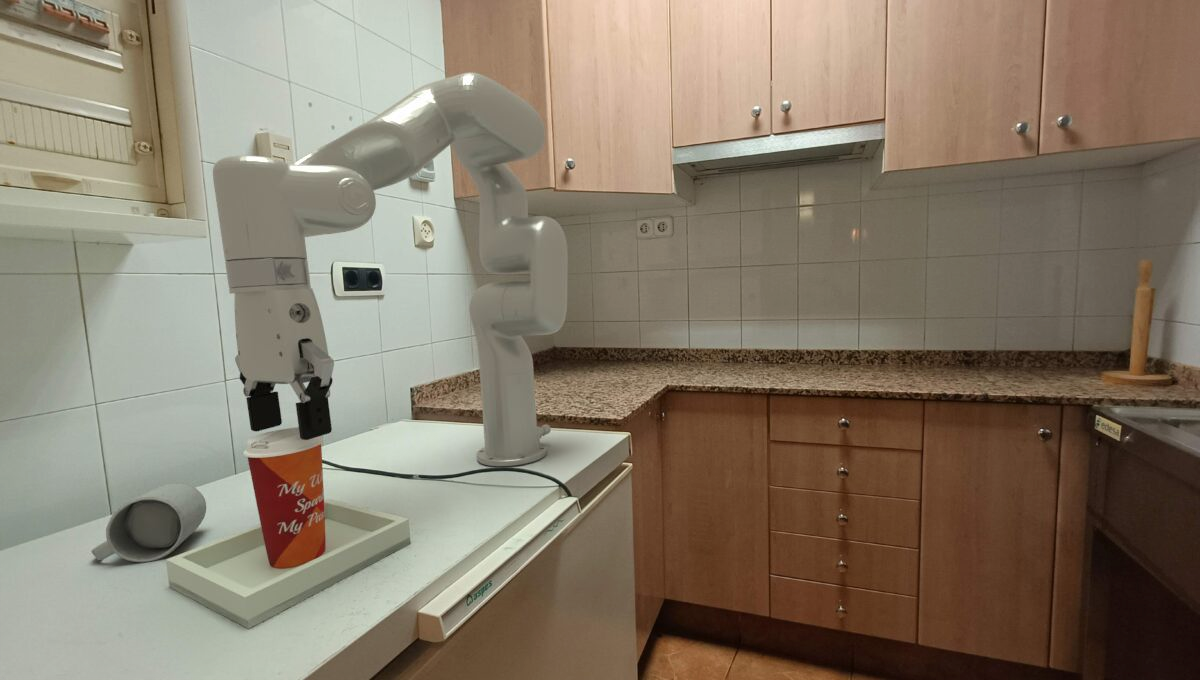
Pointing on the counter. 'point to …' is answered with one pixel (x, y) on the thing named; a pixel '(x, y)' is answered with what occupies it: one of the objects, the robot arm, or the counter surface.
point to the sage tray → (258, 591)
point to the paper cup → (289, 495)
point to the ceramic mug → (153, 524)
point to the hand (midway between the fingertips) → (290, 432)
